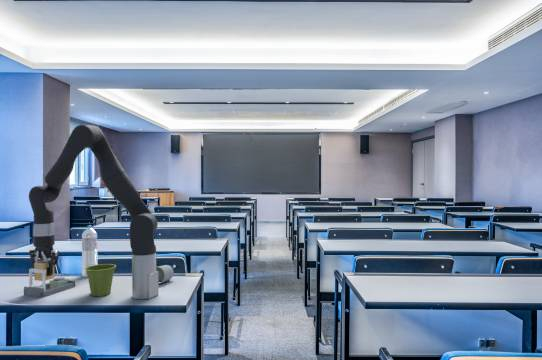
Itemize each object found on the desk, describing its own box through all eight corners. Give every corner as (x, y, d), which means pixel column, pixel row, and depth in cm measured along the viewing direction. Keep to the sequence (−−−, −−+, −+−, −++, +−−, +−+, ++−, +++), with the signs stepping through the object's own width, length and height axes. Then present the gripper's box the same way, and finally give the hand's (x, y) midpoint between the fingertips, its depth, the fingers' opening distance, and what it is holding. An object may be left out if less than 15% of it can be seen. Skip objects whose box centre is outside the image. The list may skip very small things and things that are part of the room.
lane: (75, 287, 162) (75, 278, 162) (42, 299, 147) (42, 288, 147) (57, 285, 166) (57, 276, 166) (23, 296, 150) (23, 286, 150)
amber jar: (43, 281, 151) (43, 261, 150) (34, 280, 152) (34, 260, 152) (54, 277, 155) (54, 258, 155) (45, 277, 157) (45, 258, 157)
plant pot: (122, 291, 156) (122, 265, 156) (99, 300, 145) (99, 271, 145) (102, 288, 161) (102, 262, 161) (78, 296, 150) (78, 268, 150)
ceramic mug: (175, 280, 174) (174, 263, 174) (164, 284, 166) (164, 267, 166) (156, 278, 177) (155, 262, 177) (144, 283, 170) (144, 266, 170)
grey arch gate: (46, 294, 150) (46, 269, 150) (42, 295, 149) (42, 270, 149) (32, 292, 152) (32, 268, 152) (28, 294, 151) (28, 269, 151)
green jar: (68, 286, 162) (68, 277, 162) (58, 290, 157) (58, 280, 157) (59, 285, 163) (59, 276, 163) (49, 289, 159) (49, 279, 159)
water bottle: (91, 278, 177) (91, 226, 177) (78, 278, 179) (78, 226, 178) (100, 275, 184) (100, 224, 184) (88, 274, 185) (88, 224, 185)
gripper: (22, 234, 152) (23, 276, 152) (49, 236, 148) (49, 279, 148) (39, 232, 159) (39, 271, 159) (65, 233, 155) (65, 274, 155)
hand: (44, 275), depth 154 cm, fingers closed on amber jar, 5 cm apart
